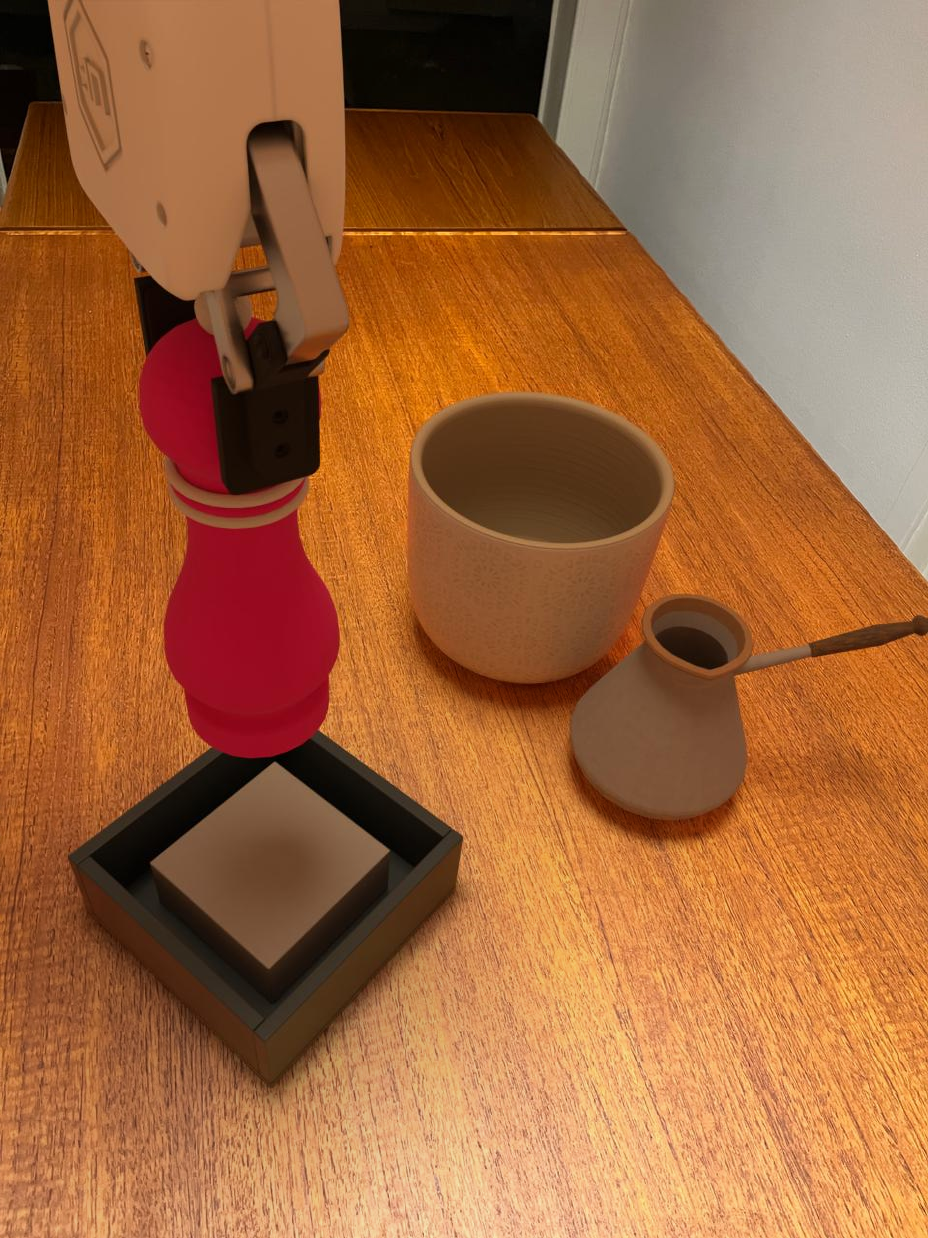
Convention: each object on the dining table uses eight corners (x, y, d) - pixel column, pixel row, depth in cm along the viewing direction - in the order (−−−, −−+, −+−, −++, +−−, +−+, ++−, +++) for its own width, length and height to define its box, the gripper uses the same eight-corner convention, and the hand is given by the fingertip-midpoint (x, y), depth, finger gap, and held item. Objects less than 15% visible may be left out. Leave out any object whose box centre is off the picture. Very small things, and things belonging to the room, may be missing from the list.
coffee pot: (573, 840, 60) (622, 677, 49) (554, 698, 68) (592, 532, 58) (904, 846, 62) (1019, 690, 51) (847, 707, 70) (936, 548, 59)
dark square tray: (86, 911, 54) (66, 856, 50) (279, 754, 63) (275, 697, 59) (271, 1089, 48) (264, 1043, 44) (455, 889, 57) (464, 836, 53)
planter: (420, 729, 65) (435, 557, 54) (384, 562, 77) (391, 393, 66) (658, 705, 68) (716, 539, 58) (589, 548, 80) (627, 386, 70)
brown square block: (159, 901, 54) (149, 862, 51) (278, 800, 59) (274, 760, 57) (272, 1005, 50) (268, 969, 48) (388, 888, 56) (390, 850, 53)
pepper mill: (146, 693, 44) (54, 263, 30) (280, 625, 48) (255, 216, 34) (234, 798, 40) (177, 366, 26) (372, 715, 44) (386, 299, 30)
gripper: (-101, -327, 24) (50, 332, 37) (117, -250, 14) (222, 618, 27) (190, -300, 28) (237, 298, 40) (532, -222, 18) (453, 542, 30)
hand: (231, 422), depth 33 cm, fingers closed on pepper mill, 6 cm apart
